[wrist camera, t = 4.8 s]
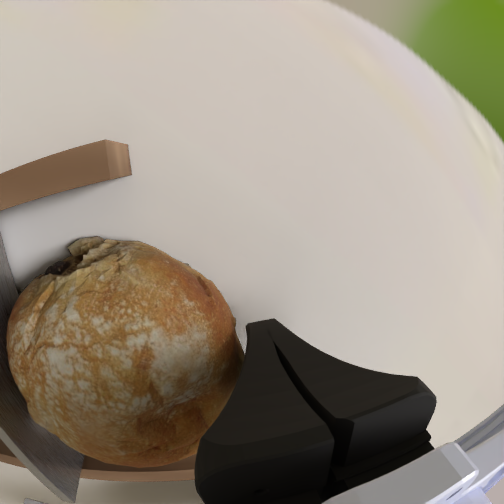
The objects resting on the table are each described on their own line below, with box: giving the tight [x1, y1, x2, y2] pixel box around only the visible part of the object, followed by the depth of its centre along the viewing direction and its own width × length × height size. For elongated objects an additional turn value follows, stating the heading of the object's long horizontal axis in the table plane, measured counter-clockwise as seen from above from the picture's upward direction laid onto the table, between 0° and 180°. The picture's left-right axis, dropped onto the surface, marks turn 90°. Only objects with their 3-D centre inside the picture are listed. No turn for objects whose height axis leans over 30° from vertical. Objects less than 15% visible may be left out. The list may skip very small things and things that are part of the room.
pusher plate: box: [0, 233, 85, 503], centre depth 9 cm, size 13×1×6 cm, turn 7°
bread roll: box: [6, 236, 245, 468], centre depth 10 cm, size 10×10×8 cm
